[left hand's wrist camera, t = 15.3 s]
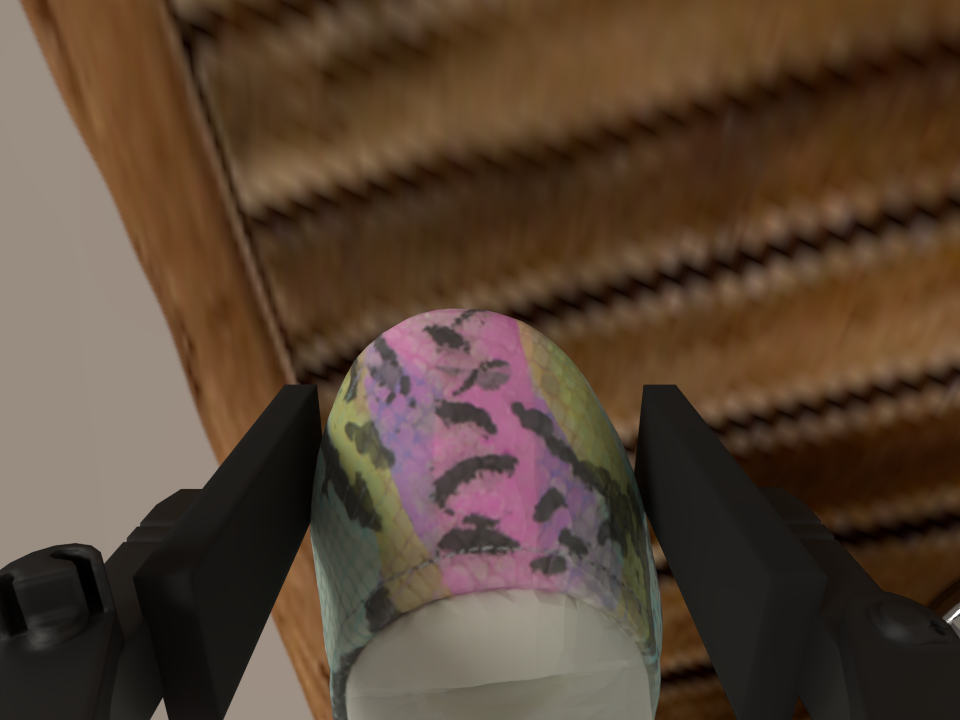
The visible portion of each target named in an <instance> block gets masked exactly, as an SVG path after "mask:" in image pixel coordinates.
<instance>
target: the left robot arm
mask: <svg viewBox="0 0 960 720" xmlns="http://www.w3.org/2000/svg"><path fill="white" fill-rule="evenodd" d="M321 441H322V429H321V419H320V410H319V400H318V391H317V385H284V386H283V388H282V389H281V390H280V392H279V393H278V394H277V395H276V397H275V398H274V399H273V400H272V402H271V403H270V404H269V405H268V407H267V408H266V409H265V410H264V412H263V413H262V414H261V415H260V417H259V418H258V419H257V421H256V422H255V423H254V424H253V426H252V427H251V428H250V429H249V431H248V432H247V433H246V434H245V436H244V437H243V438H242V439H241V441H240V442H239V443H238V444H237V446H236V447H235V448H234V450H233V451H232V452H231V453H230V455H229V456H228V457H227V458H226V460H225V461H224V462H223V463H222V465H221V466H220V467H219V468H218V470H217V471H216V472H215V474H214V475H213V476H212V477H211V479H210V480H209V481H208V482H207V484H206V485H205V486H204V487H203V489H180V490H179V491H177V492H176V493H174V494H173V495H171V496H169V497H168V498H166V499H165V500H163V501H162V502H160V503H158V504H157V505H156V506H155V507H154V508H153V509H152V510H151V512H150V513H149V514H148V515H147V516H146V517H145V518H144V519H143V521H142V522H141V523H140V527H136V528H135V530H134V531H133V532H132V533H131V534H130V535H129V536H128V537H127V542H123V543H122V544H121V545H120V547H119V548H118V549H117V550H116V551H115V552H114V553H113V554H112V556H111V557H110V558H109V559H108V560H107V561H106V562H105V564H104V562H103V559H102V555H101V552H100V551H98V550H97V549H96V548H94V547H93V546H91V545H84V544H78V543H73V544H64V545H56V546H52V547H49V548H45V549H42V550H39V551H35V552H32V553H30V554H28V555H26V556H24V557H21V558H19V559H17V560H15V561H13V562H11V563H9V564H8V565H7V566H5V567H4V568H2V569H1V570H0V720H150V719H151V717H152V715H153V714H154V712H155V710H156V708H157V706H158V705H159V703H160V701H161V700H162V698H163V699H164V703H165V707H166V711H167V715H168V719H169V720H223V719H224V717H225V714H226V712H227V710H228V708H229V705H230V703H231V701H232V699H233V696H234V694H235V692H236V690H237V687H238V685H239V683H240V681H241V678H242V676H243V674H244V671H245V669H246V667H247V665H248V662H249V660H250V658H251V656H252V653H253V651H254V649H255V647H256V644H257V642H258V640H259V638H260V635H261V633H262V631H263V628H264V626H265V624H266V622H267V619H268V617H269V615H270V613H271V610H272V608H273V606H274V604H275V601H276V599H277V597H278V595H279V592H280V590H281V588H282V585H283V583H284V581H285V579H286V576H287V574H288V572H289V570H290V567H291V565H292V563H293V561H294V558H295V556H296V554H297V552H298V549H299V547H300V545H301V542H302V540H303V538H304V536H305V533H306V531H307V529H308V527H309V524H310V520H311V500H312V491H313V482H314V476H315V470H316V463H317V457H318V453H319V449H320V445H321ZM634 476H635V479H636V482H637V485H638V488H639V492H640V495H641V498H642V502H643V506H644V510H645V512H646V514H647V517H648V519H649V521H650V523H651V526H652V528H653V530H654V532H655V535H656V537H657V539H658V541H659V544H660V546H661V548H662V551H663V553H664V555H665V557H666V560H667V562H668V564H669V566H670V569H671V571H672V573H673V575H674V578H675V580H676V582H677V584H678V587H679V589H680V591H681V594H682V596H683V598H684V600H685V603H686V605H687V607H688V609H689V612H690V614H691V616H692V618H693V621H694V623H695V625H696V627H697V630H698V632H699V634H700V637H701V639H702V641H703V643H704V646H705V648H706V650H707V652H708V655H709V657H710V659H711V661H712V664H713V666H714V668H715V670H716V673H717V675H718V677H719V680H720V682H721V684H722V686H723V689H724V691H725V693H726V695H727V698H728V700H729V702H730V704H731V707H732V709H733V711H734V713H735V716H736V718H737V720H792V717H793V713H794V709H795V705H796V701H797V697H798V696H799V698H800V699H801V701H802V703H803V705H804V706H805V708H806V710H807V712H808V713H809V715H810V717H811V719H812V720H960V582H958V583H957V584H955V585H954V586H952V587H951V588H950V589H948V590H947V591H946V592H945V593H943V594H942V595H941V596H940V597H939V598H938V599H937V600H936V601H935V602H933V603H932V604H931V605H930V607H929V608H927V607H925V606H923V605H921V604H919V603H918V602H916V601H914V600H912V599H909V598H906V597H903V596H900V595H897V594H894V593H891V592H883V591H882V589H881V588H880V587H879V586H878V585H877V584H876V583H875V582H874V580H873V579H872V578H871V577H870V576H869V575H868V574H867V573H866V571H865V570H864V569H863V568H862V567H861V566H860V565H859V564H858V562H857V561H856V560H855V559H854V558H853V557H852V556H851V555H850V553H849V552H848V551H847V550H846V549H845V548H844V547H843V546H842V544H841V543H840V542H839V541H838V540H835V539H834V535H833V534H832V533H831V532H830V531H829V530H828V529H827V528H826V526H825V525H821V521H820V520H819V519H818V517H817V516H816V515H815V514H814V513H813V512H812V511H811V510H810V508H809V507H808V506H807V505H806V504H805V503H804V502H802V501H801V500H799V499H798V498H796V497H794V496H793V495H791V494H790V493H788V492H786V491H785V490H783V489H782V488H780V487H756V486H755V484H754V483H753V482H752V480H751V479H750V478H749V477H748V475H747V474H746V473H745V472H744V470H743V469H742V468H741V467H740V465H739V464H738V463H737V462H736V460H735V459H734V458H733V457H732V455H731V454H730V453H729V451H728V450H727V449H726V448H725V446H724V445H723V444H722V443H721V441H720V440H719V439H718V438H717V436H716V435H715V434H714V433H713V431H712V430H711V429H710V428H709V426H708V425H707V424H706V422H705V421H704V420H703V419H702V417H701V416H700V415H699V414H698V412H697V411H696V410H695V409H694V407H693V406H692V405H691V404H690V402H689V401H688V400H687V398H686V397H685V396H684V395H683V393H682V392H681V391H680V390H679V388H678V387H677V386H676V385H644V386H643V395H642V405H641V414H640V424H639V433H638V443H637V452H636V462H635V471H634Z"/></svg>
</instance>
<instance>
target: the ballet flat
mask: <svg viewBox="0 0 960 720" xmlns="http://www.w3.org/2000/svg"><path fill="white" fill-rule="evenodd" d="M310 534H311V542H312V547H313V554H314V563H315V571H316V578H317V585H318V591H319V597H320V603H321V616H322V622H323V632H324V641H325V649H326V654H327V660H328V664H329V667H330V695H331V704H332V716H333V718H334V720H654V718H655V713H656V708H657V704H658V699H659V692H660V680H661V679H660V656H661V649H662V634H663V619H662V604H661V597H660V590H659V584H658V578H657V572H656V567H655V562H654V556H653V551H652V546H651V541H650V535H649V530H648V524H647V520H646V515H645V511H644V506H643V502H642V498H641V495H640V492H639V488H638V485H637V482H636V479H635V476H634V472H633V469H632V466H631V464H630V461H629V459H628V456H627V454H626V451H625V449H624V446H623V444H622V442H621V440H620V438H619V436H618V433H617V432H616V430H615V428H614V426H613V424H612V423H611V421H610V419H609V417H608V415H607V413H606V412H605V410H604V408H603V407H602V405H601V403H600V402H599V400H598V398H597V397H596V395H595V393H594V392H593V390H592V388H591V386H590V385H589V383H588V381H587V380H586V378H585V377H584V376H583V374H582V373H581V372H580V370H579V369H578V368H577V367H576V365H575V364H574V363H573V361H572V360H571V359H570V358H569V357H568V356H567V355H566V354H565V353H564V352H563V351H562V350H561V349H560V348H559V347H558V346H557V345H556V344H554V343H553V342H552V341H551V340H549V339H548V338H547V337H546V336H544V335H543V334H542V333H540V332H539V331H537V330H535V329H534V328H532V327H531V326H529V325H527V324H525V323H524V322H522V321H519V320H516V319H513V318H511V317H508V316H505V315H502V314H499V313H495V312H491V311H485V310H477V309H442V310H434V311H430V312H426V313H422V314H419V315H416V316H413V317H410V318H408V319H406V320H405V321H403V322H401V323H399V324H398V325H396V326H394V327H393V328H391V329H389V330H387V331H386V332H384V333H382V334H381V335H380V336H379V337H378V338H377V339H376V340H375V341H373V342H372V343H371V344H370V345H368V346H367V347H366V348H365V350H364V351H363V352H362V353H361V354H360V355H359V356H358V357H357V359H356V360H355V361H354V363H353V365H352V367H351V368H350V370H349V372H348V374H347V375H346V377H345V379H344V381H343V383H342V385H341V387H340V389H339V392H338V394H337V397H336V400H335V402H334V405H333V408H332V410H331V413H330V416H329V418H328V421H327V424H326V426H325V430H324V434H323V438H322V441H321V445H320V449H319V453H318V457H317V463H316V470H315V476H314V482H313V491H312V500H311V520H310Z"/></svg>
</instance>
